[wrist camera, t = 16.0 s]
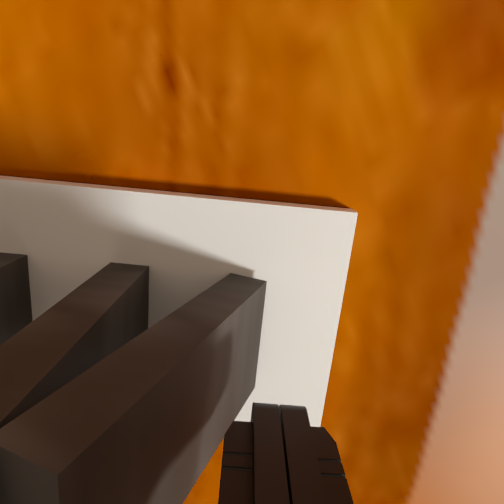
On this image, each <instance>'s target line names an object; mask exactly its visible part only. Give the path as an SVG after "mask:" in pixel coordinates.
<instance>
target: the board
mask: <svg viewBox="0 0 504 504" xmlns="http://www.w3.org/2000/svg"><path fill="white" fill-rule="evenodd" d="M357 215H358V213H357V212H356V211H354V210H353V209H349V208H338V207H328V206H317V205H307V204H296V203H286V202H275V201H265V200H254V199H244V198H233V197H222V196H212V195H201V194H191V193H180V192H170V191H159V190H149V189H138V188H128V187H117V186H107V185H96V184H86V183H75V182H65V181H54V180H43V179H33V178H22V177H12V176H1V175H0V252H2V253H13V254H24V255H27V257H28V269H29V282H30V295H31V307H32V320H33V321H34V320H35V319H36V318H37V317H39V316H40V315H41V314H43V313H44V312H45V311H47V310H48V309H49V308H51V307H52V306H53V305H55V304H56V303H57V302H59V301H60V300H61V299H63V298H64V297H65V296H67V295H68V294H69V293H71V292H72V291H73V290H75V289H76V288H77V287H79V286H80V285H81V284H82V283H84V282H85V281H86V280H88V279H89V278H90V277H92V276H93V275H94V274H96V273H97V272H98V271H100V270H101V269H102V268H104V267H105V266H106V265H108V264H109V263H110V262H113V263H123V264H134V265H144V266H149V305H148V328H150V327H151V326H153V325H154V324H156V323H157V322H159V321H160V320H162V319H163V318H165V317H166V316H168V315H169V314H171V313H172V312H174V311H175V310H177V309H178V308H180V307H181V306H183V305H184V304H186V303H187V302H188V301H190V300H191V299H193V298H194V297H196V296H197V295H199V294H200V293H202V292H203V291H205V290H206V289H208V288H209V287H211V286H212V285H214V284H215V283H217V282H218V281H220V280H221V279H223V278H224V277H226V276H227V275H228V274H230V273H233V274H237V275H242V276H246V277H251V278H255V279H260V280H264V281H267V284H266V293H265V302H264V311H263V320H262V329H261V338H260V346H259V355H258V364H257V373H256V382H255V388H254V390H253V391H252V393H251V394H250V396H249V398H248V399H247V401H246V402H245V404H244V406H243V407H242V409H241V411H240V412H239V414H238V415H237V417H236V419H235V420H234V421H245V422H250V421H251V412H252V404H253V402H255V403H268V404H278V405H280V404H282V405H295V406H305V407H306V409H307V413H308V418H309V422H310V426H312V427H320V425H321V419H322V414H323V408H324V402H325V397H326V391H327V385H328V380H329V374H330V368H331V363H332V357H333V351H334V346H335V340H336V334H337V329H338V323H339V317H340V312H341V306H342V300H343V295H344V289H345V283H346V278H347V272H348V266H349V261H350V255H351V249H352V243H353V238H354V232H355V226H356V221H357Z"/></svg>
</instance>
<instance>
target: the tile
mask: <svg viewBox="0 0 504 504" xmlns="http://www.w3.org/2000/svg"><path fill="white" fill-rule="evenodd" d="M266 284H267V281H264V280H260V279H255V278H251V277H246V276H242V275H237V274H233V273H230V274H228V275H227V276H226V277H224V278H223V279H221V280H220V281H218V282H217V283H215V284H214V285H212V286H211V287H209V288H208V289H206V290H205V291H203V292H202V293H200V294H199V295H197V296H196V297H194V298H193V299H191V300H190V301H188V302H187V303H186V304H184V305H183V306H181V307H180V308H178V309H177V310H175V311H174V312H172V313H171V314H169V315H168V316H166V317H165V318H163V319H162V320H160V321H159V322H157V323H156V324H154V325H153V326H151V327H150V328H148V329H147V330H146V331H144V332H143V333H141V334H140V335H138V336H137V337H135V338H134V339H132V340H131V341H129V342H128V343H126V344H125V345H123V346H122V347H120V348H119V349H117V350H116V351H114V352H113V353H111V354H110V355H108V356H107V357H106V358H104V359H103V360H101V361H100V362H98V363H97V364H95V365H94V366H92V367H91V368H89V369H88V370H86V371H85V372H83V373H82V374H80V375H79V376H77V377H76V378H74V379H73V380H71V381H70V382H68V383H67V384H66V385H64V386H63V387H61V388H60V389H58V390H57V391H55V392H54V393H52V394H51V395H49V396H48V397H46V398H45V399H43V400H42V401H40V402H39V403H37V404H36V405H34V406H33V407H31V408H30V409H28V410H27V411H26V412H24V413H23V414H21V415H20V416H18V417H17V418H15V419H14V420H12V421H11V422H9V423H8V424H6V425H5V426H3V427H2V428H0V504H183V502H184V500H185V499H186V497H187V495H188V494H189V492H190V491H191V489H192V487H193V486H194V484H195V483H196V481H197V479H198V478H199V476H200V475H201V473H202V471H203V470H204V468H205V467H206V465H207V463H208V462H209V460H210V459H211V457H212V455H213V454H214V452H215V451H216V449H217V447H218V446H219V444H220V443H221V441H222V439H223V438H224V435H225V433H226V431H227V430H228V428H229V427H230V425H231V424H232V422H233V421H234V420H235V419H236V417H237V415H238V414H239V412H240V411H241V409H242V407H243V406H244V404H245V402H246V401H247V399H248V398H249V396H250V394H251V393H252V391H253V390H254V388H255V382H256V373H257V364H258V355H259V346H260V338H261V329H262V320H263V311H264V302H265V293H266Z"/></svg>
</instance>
